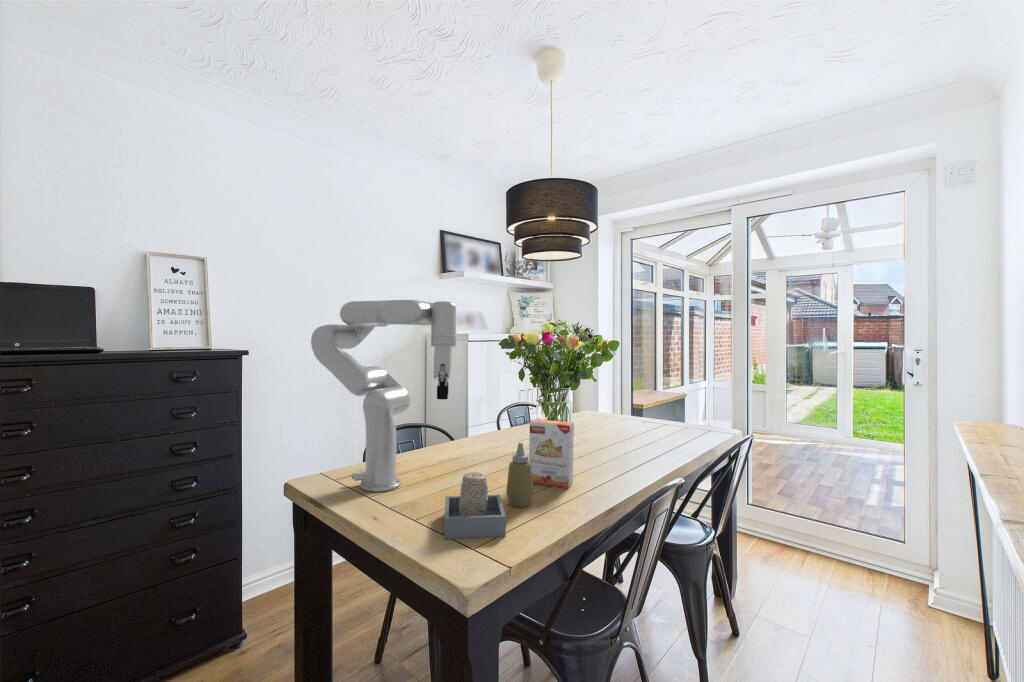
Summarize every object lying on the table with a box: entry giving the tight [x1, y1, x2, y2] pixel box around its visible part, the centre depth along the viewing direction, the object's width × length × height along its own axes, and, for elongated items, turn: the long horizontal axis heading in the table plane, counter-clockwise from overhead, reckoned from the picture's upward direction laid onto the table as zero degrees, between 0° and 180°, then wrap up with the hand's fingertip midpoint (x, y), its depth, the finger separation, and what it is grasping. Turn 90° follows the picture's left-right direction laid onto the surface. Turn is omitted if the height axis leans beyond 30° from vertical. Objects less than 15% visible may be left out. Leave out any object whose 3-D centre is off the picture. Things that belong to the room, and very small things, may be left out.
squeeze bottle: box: [506, 442, 534, 508], centre depth 130 cm, size 8×8×18 cm
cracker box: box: [528, 418, 575, 489], centre depth 149 cm, size 14×6×21 cm, turn 68°
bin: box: [443, 494, 507, 540], centre depth 115 cm, size 15×15×5 cm
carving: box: [459, 471, 489, 516], centre depth 116 cm, size 6×8×12 cm
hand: (442, 396), depth 137 cm, fingers open, 9 cm apart
